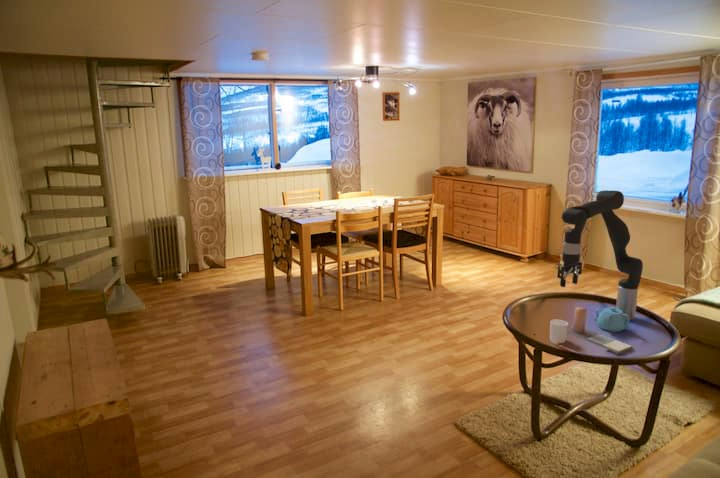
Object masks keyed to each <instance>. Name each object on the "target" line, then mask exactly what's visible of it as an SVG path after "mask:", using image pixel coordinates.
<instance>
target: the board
mask: <svg viewBox="0 0 720 478" xmlns="http://www.w3.org/2000/svg"><path fill="white" fill-rule="evenodd" d="M567 334H570V335H572V336H574V337H577V338H579V339H581V340H584V341H586V342H589V343H591V344H594V345H597V346H599V347H602V348H603V349H606V352H608V353H610V354H613V355H615V354H616V356H618V354H619V355H622V354H624V353H627V352H629V351H632V350H634V349H633V348H634V347H633V346H632V345H630V344H627V343H625V342H622V341H620V340H617V339H615V338H612V337H609V336H606V335H604V334H601V333H598V332H596V331H592V330H590V329H588V328H585V332H584V333H583V334H579V333H575V332H573V328H568V329H567Z"/></svg>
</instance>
